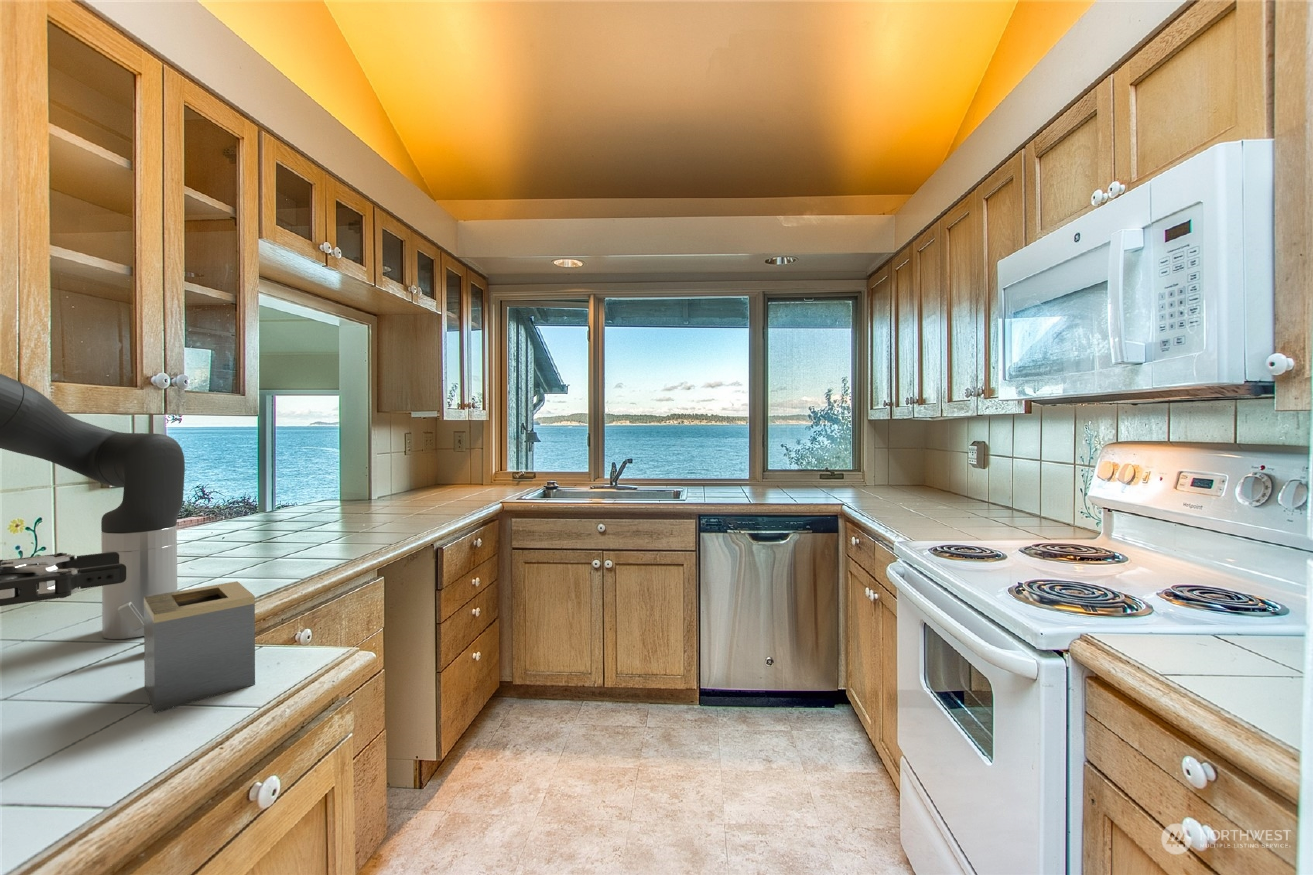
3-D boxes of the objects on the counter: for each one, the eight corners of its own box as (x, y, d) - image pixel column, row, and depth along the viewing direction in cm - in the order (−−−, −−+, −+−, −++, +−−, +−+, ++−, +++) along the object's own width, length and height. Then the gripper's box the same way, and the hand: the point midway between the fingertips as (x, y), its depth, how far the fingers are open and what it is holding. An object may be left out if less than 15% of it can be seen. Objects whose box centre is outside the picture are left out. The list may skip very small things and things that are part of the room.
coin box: (144, 685, 72) (143, 596, 72) (237, 662, 80) (237, 581, 79) (154, 713, 66) (153, 615, 65) (255, 684, 73) (254, 596, 73)
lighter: (182, 644, 86) (182, 594, 86) (181, 648, 84) (181, 597, 84) (120, 655, 82) (119, 602, 81) (117, 659, 80) (117, 605, 80)
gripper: (-117, 570, 50) (129, 544, 62) (-93, 547, 59) (116, 528, 71) (-116, 651, 50) (129, 609, 62) (-92, 615, 59) (116, 584, 71)
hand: (122, 565), depth 67 cm, fingers open, 8 cm apart
